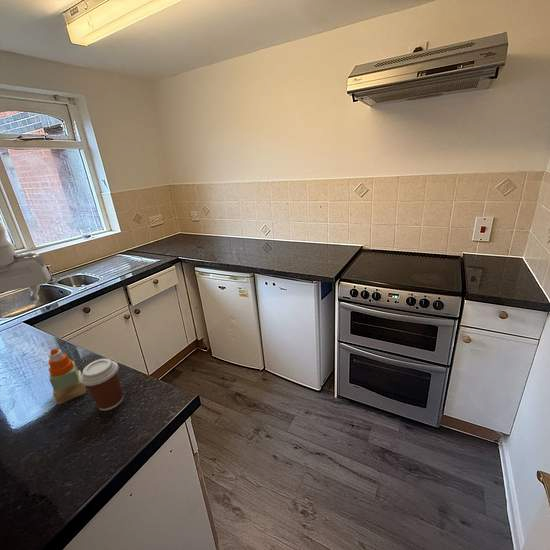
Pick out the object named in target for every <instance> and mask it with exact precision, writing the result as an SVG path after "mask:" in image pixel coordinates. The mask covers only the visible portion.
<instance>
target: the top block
mask: <svg viewBox="0 0 550 550" xmlns="http://www.w3.org/2000/svg"><path fill="white" fill-rule="evenodd" d="M72 362H73V364H74V367H73V369H72V370H71V371H69V372H68V373H66V374H64V375H61V376H57V377H53V376H51V374H50V373H49V383H50V384H51V386H52V387H51V388H52V390H53V389H54V391H55V392H56V391H58V390H61V389H63V388H66V387H68V386H71V385H73V384H75V383H78V382H79V372H78V371H79V369H78V367H77V364H76V362H75V360H72Z"/></svg>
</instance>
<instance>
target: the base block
mask: <svg viewBox="0 0 550 550" xmlns="http://www.w3.org/2000/svg"><path fill="white" fill-rule="evenodd" d="M78 372H79V382H78V383H75V384H73V385H71V386H68V387H66V388H63V389H61V390H58V391H56V392H55V391H54V389H53V388H52V396H53V397H54V399H55V401H56V403H57V405H58V406H59V405H61V404H63V403H67V402H69V401H71V400H73V399H76V398H77V397H80V396H83V395H85V394H86V393H87V389H86V388H87V386H85V385H83V384H81V381H80V377H81V375H82V374H83V373H82V371H81V370H79V369H78Z"/></svg>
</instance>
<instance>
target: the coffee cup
mask: <svg viewBox="0 0 550 550" xmlns="http://www.w3.org/2000/svg"><path fill="white" fill-rule="evenodd" d="M119 368H120V367H119V364H118V363H117V362H116V361H114V360H112V359H111V358H99V359H96V360H94V361H92V362H90V363H89V364H87V365H86V366H85V367H84V368H83V370H82V371H81V373H82V375H81V377H80V381H81V384H83V385H85V387H86V388H87V390H88V392H89V393H90V395H91V397H92V399H93V401H94V402H95V405H96V406H97V408H98V409H99V410H100V411H103V412H104V411H109V410H112V409H114V408H116V407H118V406H119V405H121V403H122V402H123V400H124V398H125V397H124V393H123V390H122V385H121V381H120V377H119Z"/></svg>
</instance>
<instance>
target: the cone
mask: <svg viewBox="0 0 550 550" xmlns="http://www.w3.org/2000/svg"><path fill="white" fill-rule="evenodd" d="M48 357H49V360H48V365H49V368H48V371H49V375H50V374H51V376H53V377H57V376H61V375H64V374H66V373H68V372H69V371H71V370H72V369H73V367H74V364H73V362H72V361H73V360H72V359H71V358H69V357H68V355H67V354H66V353H63V351H62V350H61V349H58V348H52V349H51V350H50V352H49V354H48Z"/></svg>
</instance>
